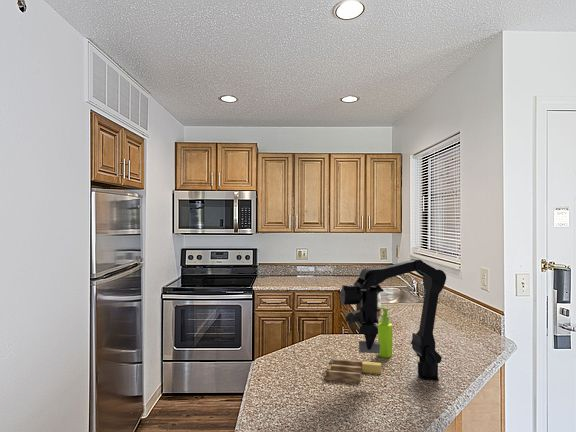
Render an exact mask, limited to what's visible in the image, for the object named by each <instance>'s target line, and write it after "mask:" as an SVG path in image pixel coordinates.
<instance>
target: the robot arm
mask: <svg viewBox="0 0 576 432" xmlns="http://www.w3.org/2000/svg"><path fill="white" fill-rule="evenodd" d="M412 272H416V274H418V275H419V276H421V277H422V286H423V288H424V297H423V303H422V309H421V316H420V323H419V329H418V330H417V332H416V333H414V332H413V333H412V335H411V337H412V338H411V341H410V344H411V348H412V350H413V351H414V353H415V354H416V357H418V358H419V361H417V375H418V376H419V379H421V380H430V381H431V380H432V381H440V380H439V364H441V363H442V359H443V357H442V356H441V355H440V354H439V353H438V352H437V351H436V340H435V337H434V329H435V328H434V327H435V321H436V315H437V308H438V302H439V297H440V296H439V295H440V293H441V292H442V290H443V289H444V287H445V284H446V282H447V281H446V280H447V274H446V273H445V272H444V271H443V270H442V269H439V268H435V267H433V266H431V265H429V264H427V263H425V261H423V260H421V259H420V258H419V259H418V258H411V259H409V260H405V261H401V262H398V263H395V264H391V265H387V266H384V267H366V268H363V269H361V271H360V273H359V276H358V278H357V279H356V280H355V282H354V284H353V285H347V284H342V286H341V289H340V293H339V300H340V303H341V305H342V306H350V305H355V306H356V304H359V303H361V308H360V310H357V311H356V310H354V311H350V312H347V313H346V314H345V315H344V317H345V320H346V322H347V325H348V326H349V325H352V324H354V323H357V322H359V323H360V324H359V331H358V332H359V334H362V335H363V336H364V338H365V341H366V344H367V349H368V350H371V348H372V345H373V343H374V342H375V340H376V339H377V337H378V323H379V316H378V292H381V293H383V292H384V291H385V290H384V289H383V288H382V286H381V287H380V286H379V285H381V284H382V283H384V282H385V281H387V280H388V279H390V278H394V277H397V276H402V275H405V274H408V273H412ZM378 284H379V285H378ZM371 286H373V287H371Z"/></svg>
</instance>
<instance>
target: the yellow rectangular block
mask: <svg viewBox="0 0 576 432" xmlns="http://www.w3.org/2000/svg"><path fill="white" fill-rule="evenodd" d="M362 373H369V374H379V375H380V374H382V363H381V362H374V361H373V362H371V361H364V360H363V361H362Z"/></svg>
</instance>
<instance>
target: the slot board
mask: <svg viewBox="0 0 576 432" xmlns="http://www.w3.org/2000/svg"><path fill="white" fill-rule="evenodd" d="M362 362H363V361H362V360H353V359H352V360H351V359H339V358H338V359H337V358H331V359H330V360H329V362H328V365H327V367H326V371H325V380H327V381H328V380H329V381H337V382H346V383H347V382H350V383H358V384H359V383H361V380H362V373H363V372H362Z"/></svg>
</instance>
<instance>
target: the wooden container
mask: <svg viewBox="0 0 576 432" xmlns="http://www.w3.org/2000/svg"><path fill="white" fill-rule="evenodd" d="M378 285H379V286H380V287H381V288H382V285H381V284H378ZM371 287H373V286H371ZM381 294H382V292H378V307H382V302H381V301H382V296H381ZM355 306H356V308H355V311H357V310H360V308H361V303H359V304H355ZM381 312H382V309H378V317H381Z"/></svg>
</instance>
